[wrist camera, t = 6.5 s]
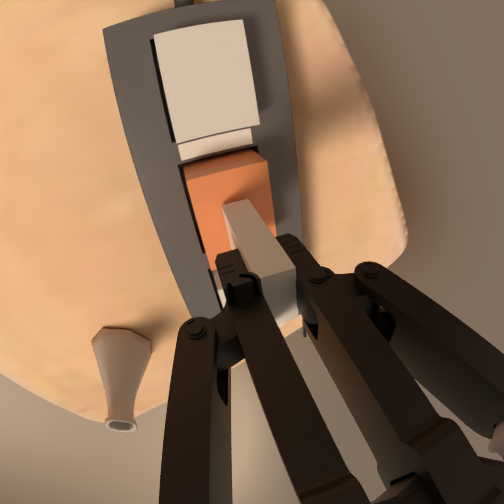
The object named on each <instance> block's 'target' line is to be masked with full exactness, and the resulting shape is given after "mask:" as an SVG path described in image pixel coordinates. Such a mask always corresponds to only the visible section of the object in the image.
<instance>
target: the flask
mask: <svg viewBox="0 0 504 504" xmlns="http://www.w3.org/2000/svg"><path fill="white" fill-rule="evenodd" d="M92 346H93V350H94V353H95V357H96V360H97V364H98V367H99V371H100V374H101V378H102V381H103V385H104V388H105V393H106V399H107V405H108V418H106V419H105V424H106V426H107V428H109V429H112V430H115V431H118V432H132V431H134V430H136V429H137V424H136V421H135V419H134V412H133V410H134V403H135V397H136V394H137V391H138V388H139V385H140V382H141V379H142V377H143V374H144V372H145V369H146V367H147V365H148V362H149V360H150V357H151V350H150V341H149V340H147V339H145V338H143V337H141V336H139V335H138V334H136V333H134V332H132V331H130V330H122V329H105V328H103V329H102V330H101V331H100V332H99V333H98V334H97V335H96V337H95V338H94V339H93V340H92Z"/></svg>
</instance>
